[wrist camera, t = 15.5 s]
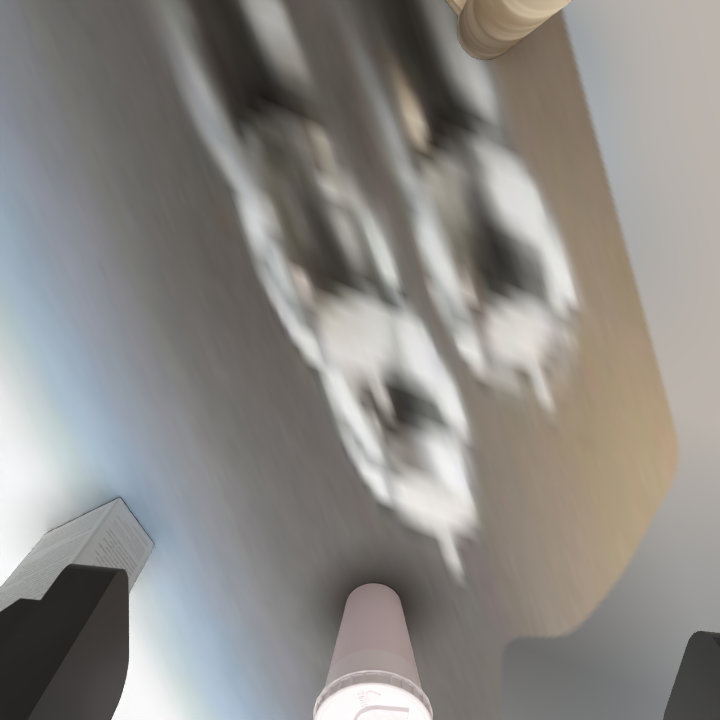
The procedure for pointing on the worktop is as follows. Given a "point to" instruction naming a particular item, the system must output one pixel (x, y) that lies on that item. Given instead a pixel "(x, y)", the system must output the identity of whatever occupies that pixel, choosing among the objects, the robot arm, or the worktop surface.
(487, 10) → the tan and brown blocks
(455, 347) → the worktop surface
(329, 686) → the smoothie
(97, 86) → the worktop surface
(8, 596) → the skincare box
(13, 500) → the worktop surface
